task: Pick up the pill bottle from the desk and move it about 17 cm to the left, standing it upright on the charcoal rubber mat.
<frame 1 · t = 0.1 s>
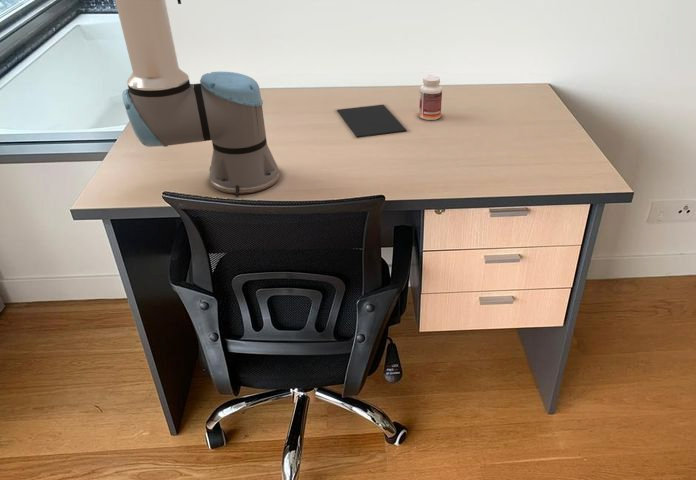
hand: (151, 4, 151), 28 cm above the table, tool pointing down, fingers open, 13 cm apart
pill bottle: (429, 117, 167), on the table
mat: (370, 120, 164), on the table
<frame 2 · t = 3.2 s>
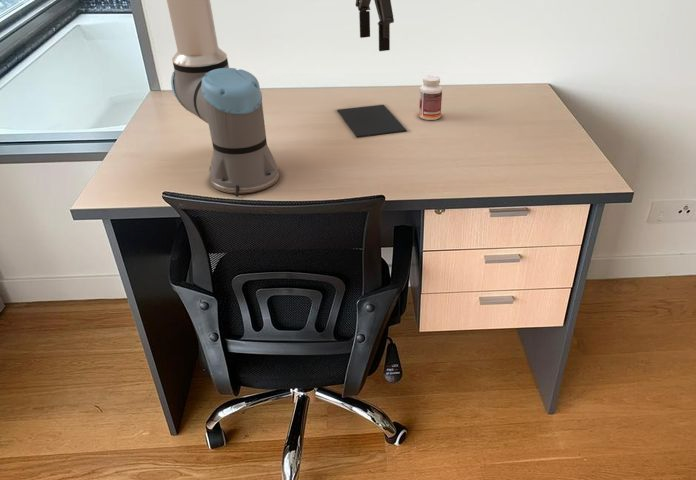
hand: (374, 43, 156), 20 cm above the table, tool pointing down, fingers open, 13 cm apart
nothing on the table moved.
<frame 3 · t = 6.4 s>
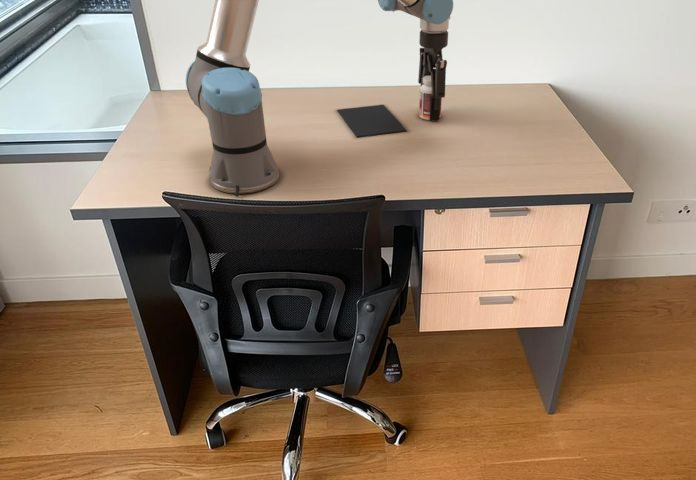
hand: (429, 115, 167), 0 cm above the table, tool pointing down, fingers closed on pill bottle, 6 cm apart
pill bottle: (429, 117, 167), on the table, touching gripper
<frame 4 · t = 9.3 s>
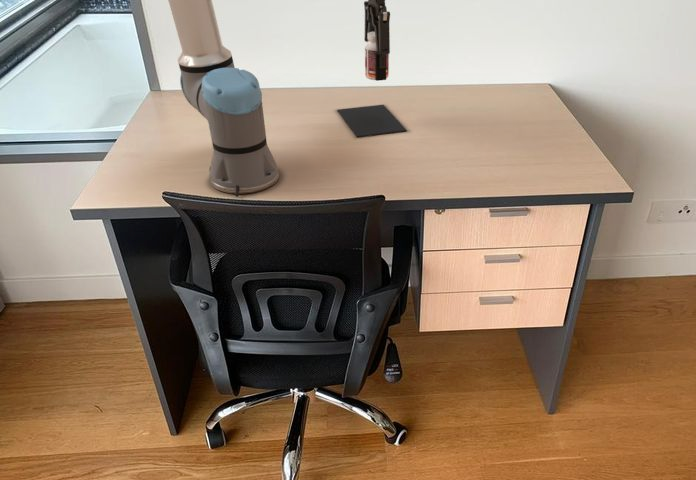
hand: (376, 75, 155), 13 cm above the table, tool pointing down, fingers closed on pill bottle, 6 cm apart
pill bottle: (376, 77, 155), point 12 cm above the table, touching gripper
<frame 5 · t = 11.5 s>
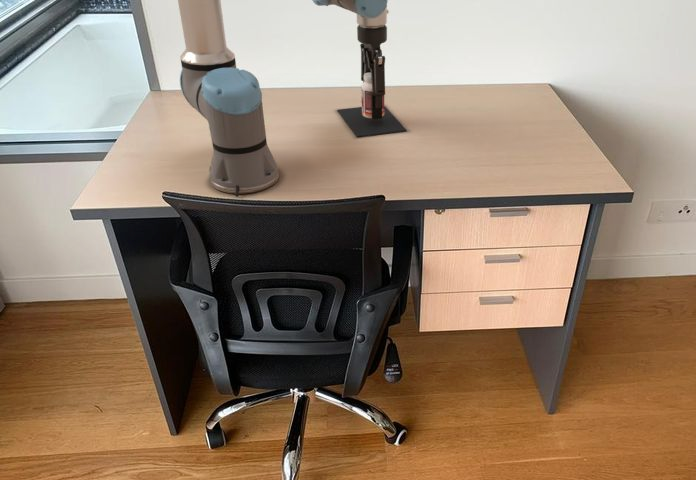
hand: (373, 113, 161), 3 cm above the table, tool pointing down, fingers closed on pill bottle, 6 cm apart
pill bottle: (373, 115, 161), point 2 cm above the table, touching gripper
when the fingers open (1 cm above the table, at t = 12.5 s): pill bottle stays where it is, resting on mat.
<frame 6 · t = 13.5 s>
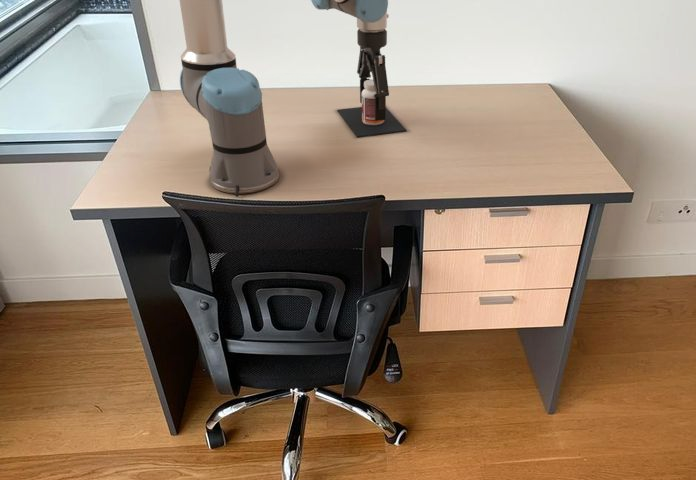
hand: (372, 111, 160), 4 cm above the table, tool pointing down, fingers open, 13 cm apart
pill bottle: (373, 122, 162), resting on mat
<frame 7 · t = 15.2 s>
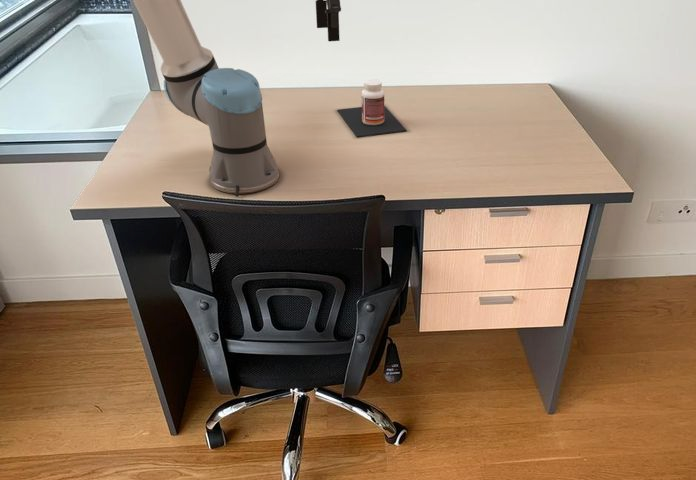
hand: (327, 34, 150), 23 cm above the table, tool pointing down, fingers open, 13 cm apart
nothing on the table moved.
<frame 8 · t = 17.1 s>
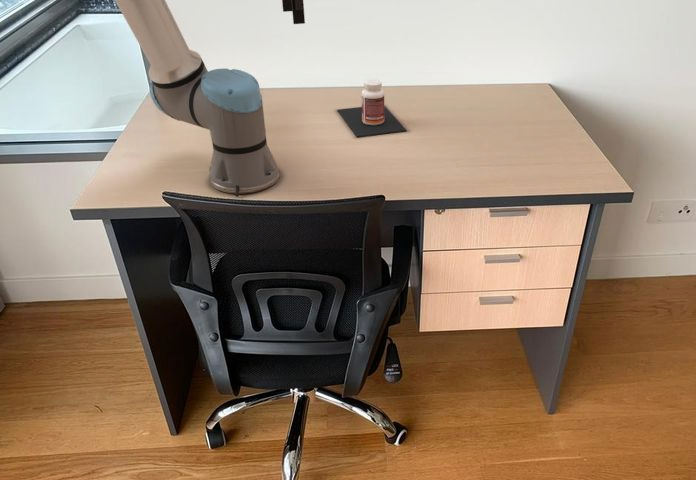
hand: (293, 17, 148), 27 cm above the table, tool pointing down, fingers open, 13 cm apart
nothing on the table moved.
at the end: pill bottle inside the target area on the mat (2.0 cm from its centre), point 0.2 cm above the mat's base; pill bottle tilted 0°; the gripper is holding nothing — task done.
